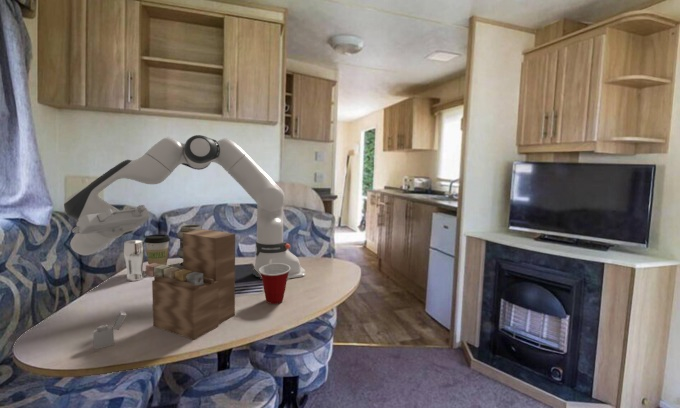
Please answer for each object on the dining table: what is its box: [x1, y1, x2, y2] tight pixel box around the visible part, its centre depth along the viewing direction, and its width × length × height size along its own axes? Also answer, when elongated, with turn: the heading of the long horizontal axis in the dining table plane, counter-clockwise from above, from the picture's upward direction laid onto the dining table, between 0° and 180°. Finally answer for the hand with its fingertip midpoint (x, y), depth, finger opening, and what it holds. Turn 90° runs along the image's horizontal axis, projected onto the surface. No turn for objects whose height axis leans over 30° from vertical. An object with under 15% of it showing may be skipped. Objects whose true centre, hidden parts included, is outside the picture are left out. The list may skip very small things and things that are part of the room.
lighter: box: [93, 311, 127, 350], centre depth 91 cm, size 7×2×8 cm, turn 126°
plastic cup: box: [259, 263, 290, 305], centre depth 123 cm, size 11×11×12 cm
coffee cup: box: [143, 233, 171, 266], centre depth 150 cm, size 10×10×15 cm
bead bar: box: [145, 263, 203, 285], centre depth 102 cm, size 20×3×3 cm, turn 66°
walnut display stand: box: [151, 228, 236, 341], centre depth 104 cm, size 16×17×26 cm
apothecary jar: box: [176, 223, 202, 268], centre depth 161 cm, size 12×12×18 cm
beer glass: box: [123, 239, 145, 282], centre depth 139 cm, size 7×7×15 cm
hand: (128, 208), depth 108 cm, fingers open, 8 cm apart
